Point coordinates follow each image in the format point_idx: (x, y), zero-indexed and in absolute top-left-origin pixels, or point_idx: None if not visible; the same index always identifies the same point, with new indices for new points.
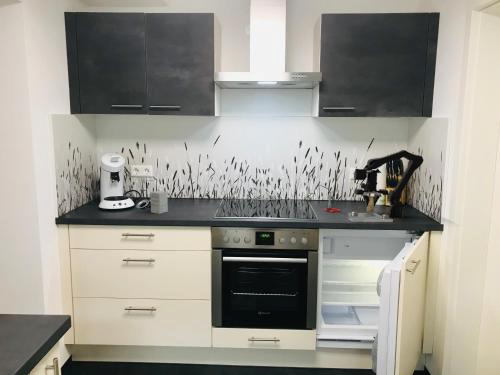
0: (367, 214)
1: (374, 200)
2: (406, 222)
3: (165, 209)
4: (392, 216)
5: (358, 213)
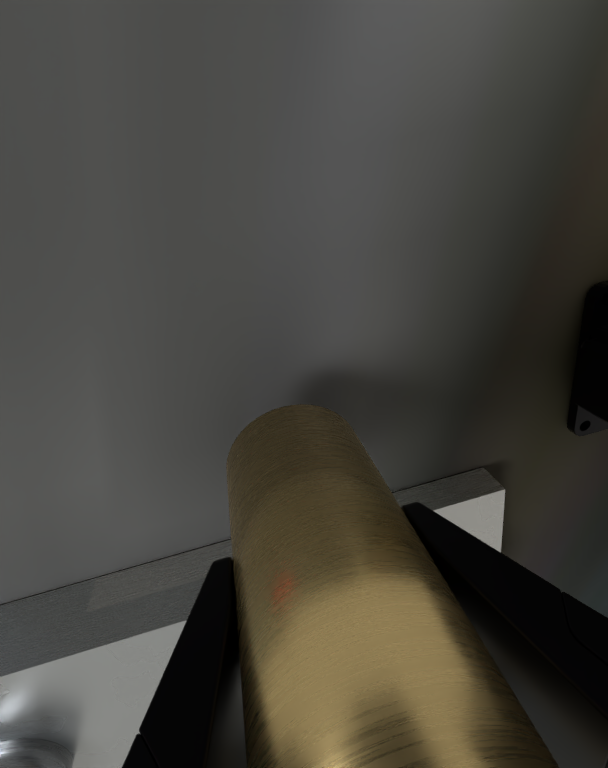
0: None
1: (509, 665)
2: (596, 580)
3: None
4: (585, 418)
5: (74, 687)
